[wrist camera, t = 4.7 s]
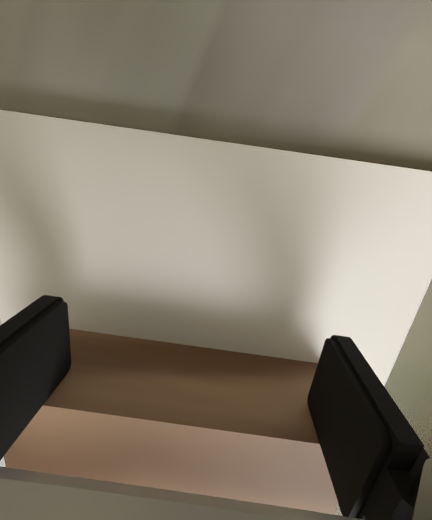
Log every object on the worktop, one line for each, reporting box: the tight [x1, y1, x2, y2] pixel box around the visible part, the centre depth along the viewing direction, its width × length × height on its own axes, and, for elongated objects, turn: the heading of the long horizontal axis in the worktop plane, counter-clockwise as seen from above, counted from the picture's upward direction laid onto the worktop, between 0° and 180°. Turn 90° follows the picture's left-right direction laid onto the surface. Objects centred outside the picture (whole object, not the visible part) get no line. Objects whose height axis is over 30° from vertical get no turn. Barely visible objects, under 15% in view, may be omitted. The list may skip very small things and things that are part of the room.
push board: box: [0, 110, 432, 386], centre depth 16 cm, size 34×18×1 cm, turn 172°
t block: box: [4, 329, 338, 515], centre depth 13 cm, size 12×12×4 cm
